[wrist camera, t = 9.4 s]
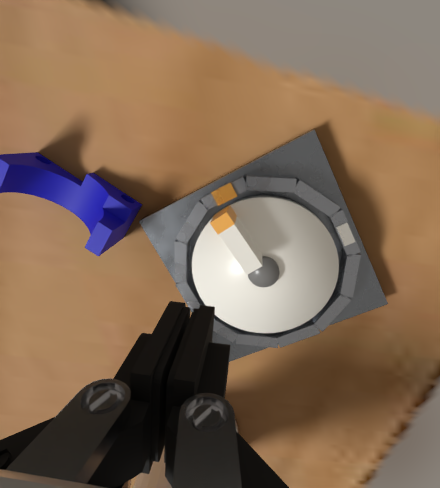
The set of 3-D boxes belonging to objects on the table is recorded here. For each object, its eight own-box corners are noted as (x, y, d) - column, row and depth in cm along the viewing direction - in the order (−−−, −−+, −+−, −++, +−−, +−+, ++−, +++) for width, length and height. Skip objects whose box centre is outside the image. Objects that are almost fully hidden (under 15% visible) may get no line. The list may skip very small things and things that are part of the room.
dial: (360, 284, 32) (377, 309, 27) (242, 343, 36) (240, 373, 31) (287, 164, 29) (292, 169, 25) (168, 242, 33) (153, 259, 28)
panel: (382, 296, 34) (395, 314, 31) (225, 355, 39) (222, 375, 35) (311, 129, 30) (318, 128, 26) (143, 217, 34) (131, 226, 31)
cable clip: (142, 204, 34) (119, 217, 28) (123, 237, 35) (98, 256, 30) (43, 139, 33) (-1, 139, 27) (28, 176, 35) (-17, 183, 29)
